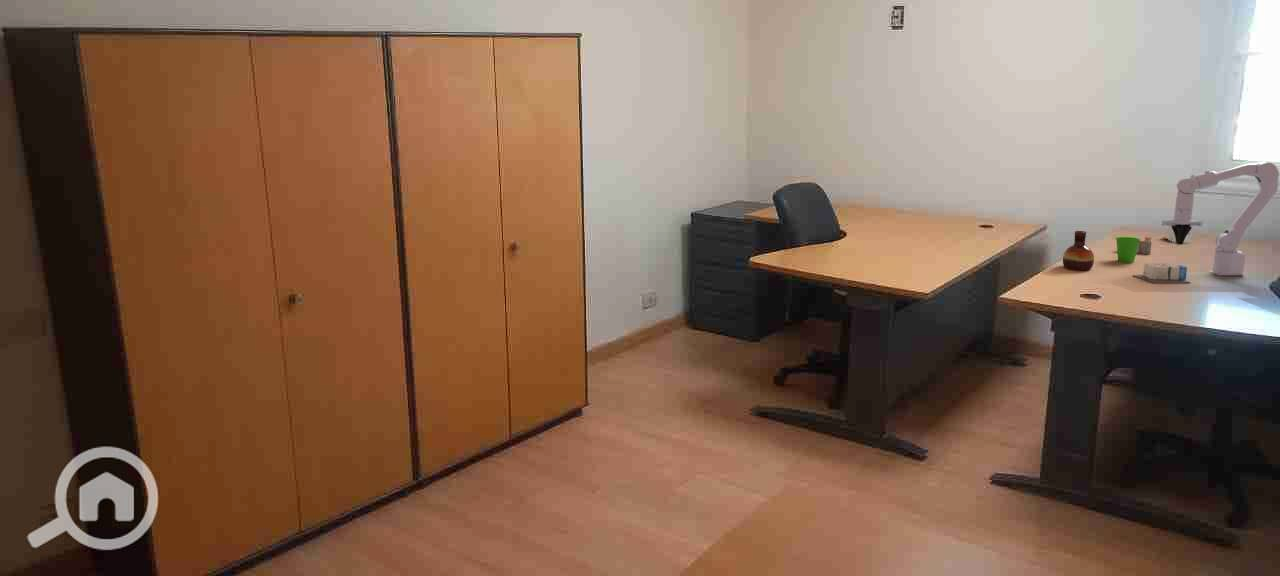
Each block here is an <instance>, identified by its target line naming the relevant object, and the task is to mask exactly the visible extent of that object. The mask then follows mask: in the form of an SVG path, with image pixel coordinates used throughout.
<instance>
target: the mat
mask: <svg viewBox="0 0 1280 576" xmlns="http://www.w3.org/2000/svg"><path fill="white" fill-rule="evenodd" d="M1132 277H1134V278H1137V279H1140V280H1143V281H1144V282H1145V281H1146V282H1148V283H1152V284H1191V281H1187V280H1153V279H1149V278H1147V277H1146V276H1144V275H1143V274H1133V275H1132Z"/></svg>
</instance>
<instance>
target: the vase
mask: <svg viewBox="0 0 1280 576" xmlns="http://www.w3.org/2000/svg"><path fill="white" fill-rule="evenodd" d="M1086 237H1087V231H1084V230H1075V231H1074V242H1073V244H1072V245H1070V246H1068V247H1067V248H1066V250H1065V251H1064V252H1063V255H1062V264H1063V267H1064V269H1067V270H1070V271H1076V272H1088V271H1090V270H1091V269H1092V268H1093V266H1094V263H1095V255H1094V252H1093V251H1092V250H1091V248H1090V247H1088V246H1087V245H1086Z"/></svg>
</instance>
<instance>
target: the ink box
mask: <svg viewBox="0 0 1280 576" xmlns="http://www.w3.org/2000/svg"><path fill="white" fill-rule="evenodd" d="M1143 265H1144V267H1143V271H1142V272H1143V273H1142V275H1144V276H1146V277H1147V278H1149V279H1153V280H1185V281H1187V274H1188V273H1187V270H1188V267H1187V266H1185V265H1181V264H1180V263H1158V262H1157V263H1149V262H1144V264H1143Z"/></svg>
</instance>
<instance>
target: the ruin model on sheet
mask: <svg viewBox="0 0 1280 576" xmlns="http://www.w3.org/2000/svg"><path fill="white" fill-rule="evenodd" d="M1144 239H1145V240H1140V241H1139V245H1138V248H1137V252H1136V254H1141V255H1149V254H1150V255H1151V252H1152V244H1153V243H1152V236H1145V237H1144Z"/></svg>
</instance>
